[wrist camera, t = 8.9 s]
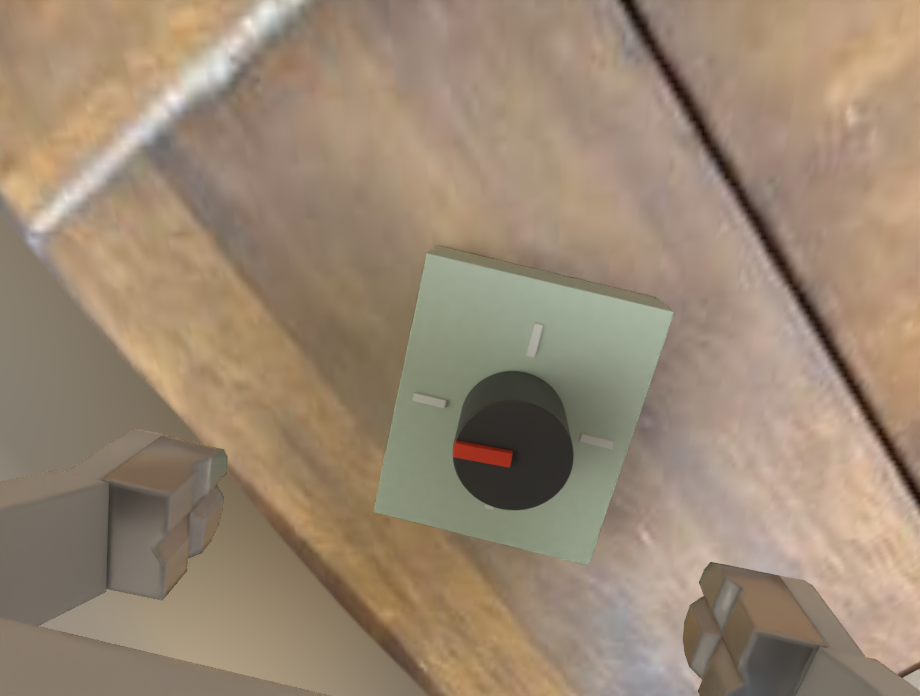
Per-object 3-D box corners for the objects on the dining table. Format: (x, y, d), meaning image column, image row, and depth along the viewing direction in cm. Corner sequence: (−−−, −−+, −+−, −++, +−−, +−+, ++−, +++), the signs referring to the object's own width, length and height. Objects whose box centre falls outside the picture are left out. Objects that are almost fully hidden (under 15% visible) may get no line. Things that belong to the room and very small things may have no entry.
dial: (575, 381, 24) (586, 416, 20) (553, 476, 25) (560, 526, 21) (469, 361, 24) (462, 393, 20) (453, 457, 25) (442, 503, 22)
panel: (581, 528, 29) (589, 568, 26) (386, 480, 29) (372, 514, 26) (657, 297, 26) (676, 312, 23) (436, 245, 26) (426, 253, 23)
